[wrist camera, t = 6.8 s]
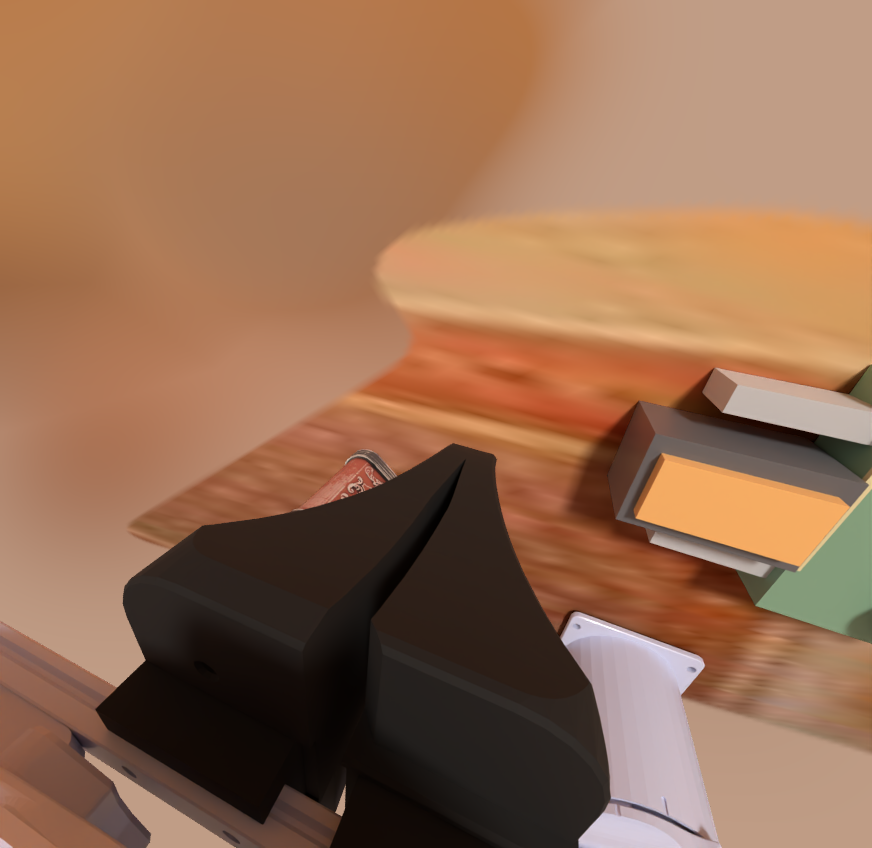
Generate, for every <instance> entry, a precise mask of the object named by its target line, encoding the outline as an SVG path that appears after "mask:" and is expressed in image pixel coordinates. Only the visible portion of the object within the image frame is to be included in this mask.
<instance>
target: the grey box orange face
mask: <svg viewBox="0 0 872 848" xmlns="http://www.w3.org/2000/svg"><path fill="white" fill-rule="evenodd" d="M607 476H608V482H609V487H610V492H611V498H612V503H613V509H614V514H615V519H617V520H620V521H623V522H627V523H630V524H634V525H637V526H640V527H644V528H647V529H650V530H654V531H657V532H660V533H664V534H667V535H670V536H674V537H677V538H680V539H684V540H687V541H690V542H694V543H697V544H700V545H704V546H707V547H711V548H714V549H717V550H721V551H724V552H727V553H731V554H734V555H737V556H741V557H744V558H747V559H751V560H754V561H757V562H761V563H764V564H767V565H771V566H774V567H777V568H781V569H784V570H787V571H791V572H794V573H795V572H796V571H797V570H798V568H799V567H800V566H801V565H802V564H803V563H804V561H805V560H806V559H807V558H808V557H809V556H810V554H811V553H812V552H813V551H814V550H815V548H816V547H817V546H818V545H819V544H820V543H821V541H822V540H823V539H824V538H825V537H826V536H827V534H828V533H829V532H830V531H831V530H832V528H833V527H834V526H835V525H836V524H837V523H838V521H839V520H840V519H841V518H842V517H843V516H844V514H845V513H846V512H847V511H848V510H849V508H850V507H851V506H852V505H853V504H854V503H855V501H856V500H857V499H858V498H859V497H860V496H861V494H862V493H863V492H864V491H865V490H866V489H867V487H868V486H869V484H868V483H866V482H865V481H864V480H862V479H861V478H860V477H858V476H857V475H855V474H854V473H853V472H851V471H850V470H849V469H847V468H846V467H845V466H843V465H842V464H841V463H839V462H838V461H837V460H835V459H834V458H833V457H831V456H830V455H829V454H827V453H826V452H825V451H823V450H822V449H821V448H819V447H818V446H817V445H815V444H814V443H813V442H811V441H810V440H808V439H807V438H804V437H800V436H795V435H791V434H786V433H782V432H777V431H773V430H768V429H764V428H759V427H755V426H751V425H746V424H742V423H737V422H733V421H728V420H724V419H719V418H715V417H710V416H706V415H701V414H697V413H692V412H688V411H683V410H679V409H674V408H670V407H665V406H661V405H656V404H652V403H647V402H643V401H639V402H638V404H637V406H636V409H635V411H634V413H633V416H632V418H631V420H630V423H629V425H628V428H627V430H626V432H625V435H624V437H623V439H622V442H621V444H620V446H619V449H618V451H617V453H616V456H615V458H614V460H613V463H612V465H611V467H610V470H609V472H608V475H607Z"/></svg>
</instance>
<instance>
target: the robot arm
mask: <svg viewBox="0 0 872 848" xmlns="http://www.w3.org/2000/svg"><path fill="white" fill-rule="evenodd" d="M496 460H497V459H496V457H495V456H494V455H493V454H489V453H486V452H482V451H479V450H475V449H472V448H468V447H465V446H461V445H457V444H454V443H453V444H451V445H449V446H447V447H446V448H444V449H443V450H441V451H440V452H438V453H437V454H435V455H433V456H432V457H430V458H429V459H427V460H425V461H424V462H422V463H420V464H419V465H417V466H415V467H413V468H412V469H410V470H408V471H406V472H405V473H403V474H401V475H399V476H397V477H395V478H393V479H391V480H389V481H387V482H385V483H383V484H380V485H378V486H376V487H373V488H371V489H368V490H366V491H363V492H360V493H358V494H355V495H352V496H349V497H346V498H343V499H339V500H336V501H333V502H329V503H326V504H323V505H319V506H316V507H312V508H308V509H304V510H299V511H295V512H290V513H285V514H280V515H275V516H270V517H264V518H259V519H252V520H244V521H237V522H229V523H222V524H215V525H205V526H202V527H200V528H199V529H197V530H196V531H195V532H193V533H192V534H190V535H189V536H188V537H186V538H185V539H184V540H182V541H181V542H180V543H178V544H177V545H176V546H174V547H173V548H171V549H170V550H169V551H167V552H166V553H165V554H163V555H162V556H161V557H159V558H158V559H157V560H155V561H154V562H153V563H151V564H150V565H149V566H147V567H146V568H144V569H143V570H142V571H140V572H139V573H138V574H136V575H135V576H134V577H132V578H131V579H130V580H129V581H128V583H127V584H126V585H125V588H124V593H123V606H124V609H125V612H126V616H127V618H128V620H129V623H130V625H131V627H132V629H133V632H134V634H135V637H136V639H137V641H138V644H139V646H140V648H141V650H142V653H143V655H144V657H145V659H146V661H145V662H144V663H143V664H142V665H140V666H139V667H138V668H137V669H136V670H135V671H134V672H133V673H132V674H131V675H130V676H129V677H128V678H127V679H126V680H125V681H124V682H123V683H122V684H121V685H120V686H119V687H118V688H117V687H115V686H113V685H111V684H110V683H108V682H106V681H104V680H103V679H101V678H99V677H97V676H96V675H94V674H92V673H90V672H89V671H87V670H85V669H83V668H82V667H80V666H78V665H76V664H75V663H73V662H71V661H69V660H68V659H66V658H64V657H62V656H61V655H59V654H57V653H55V652H54V651H52V650H50V649H48V648H47V647H45V646H43V645H41V644H40V643H38V642H36V641H35V640H33V639H31V638H29V637H27V636H26V635H24V634H22V633H21V632H19V631H17V630H15V629H14V628H12V627H10V626H8V625H6V624H5V623H3V622H1V621H0V848H146V847H147V845H148V844H149V843H150V836H151V834H150V832H149V831H148V830H147V829H146V828H145V827H144V826H143V825H142V824H141V822H140V821H139V820H138V819H137V818H136V817H135V816H134V815H133V814H132V813H131V811H130V810H129V809H128V807H127V806H126V804H125V803H124V802H123V801H122V799H121V798H120V796H119V794H118V792H117V790H116V787H115V785H114V783H113V782H112V781H111V780H110V779H109V778H108V777H106V776H105V775H104V774H103V773H102V772H100V771H99V770H98V769H97V768H96V767H94V766H93V765H92V764H91V763H89V762H88V761H87V760H86V759H85V758H84V757H85V751H87V752H88V753H90V754H91V755H93V756H95V757H96V758H98V759H100V760H101V761H102V762H104V763H105V764H107V765H109V766H110V767H112V768H113V769H115V770H116V771H118V772H119V773H121V774H122V775H124V776H126V777H127V778H129V779H130V780H132V781H133V782H135V783H137V784H138V785H140V786H141V787H143V788H144V789H146V790H147V791H149V792H150V793H152V794H153V795H155V796H157V797H158V798H160V799H162V800H163V801H164V802H166V803H167V804H169V805H171V806H172V807H174V808H175V809H177V810H178V811H180V812H182V813H183V814H185V815H186V816H188V817H189V818H191V819H192V820H194V821H195V822H197V823H198V824H200V825H202V826H203V827H205V828H206V829H208V830H209V831H211V832H212V833H214V834H216V835H217V836H219V837H220V838H222V839H223V840H225V841H226V842H228V843H230V844H231V845H233V846H234V847H236V848H722V847H721V845H720V844H719V840H718V836H717V832H716V829H715V825H714V821H713V817H712V813H711V809H710V805H709V802H708V798H707V794H706V790H705V787H704V782H703V779H702V775H701V771H700V767H699V763H698V760H697V756H696V752H695V748H694V744H693V740H692V737H691V733H690V729H689V725H688V721H687V717H686V714H685V710H684V706H683V702H682V698H681V694H682V693H683V692H684V691H685V690H686V688H687V687H688V686H689V685H690V684H691V683H692V681H693V680H694V679H695V678H696V677H697V675H698V674H699V673H700V672H701V671H702V670H703V668H704V666H705V665H704V662H703V659H702V658H701V657H700V656H698V655H695V654H693V653H690V652H687V651H684V650H682V649H679V648H676V647H674V646H671V645H668V644H665V643H663V642H660V641H657V640H654V639H652V638H649V637H646V636H644V635H641V634H638V633H635V632H633V631H630V630H627V629H624V628H622V627H619V626H616V625H614V624H611V623H608V622H605V621H603V620H600V619H597V618H594V617H592V616H589V615H586V614H583V613H581V612H574V613H572V614H571V616H570V618H569V620H568V622H567V624H566V626H565V628H564V630H563V632H562V634H561V636H560V637H559V636H558V634H557V632H556V631H555V629H554V627H553V626H552V624H551V622H550V621H549V619H548V617H547V616H546V614H545V612H544V611H543V609H542V607H541V605H540V603H539V601H538V599H537V597H536V595H535V594H534V592H533V590H532V588H531V586H530V584H529V582H528V580H527V578H526V576H525V574H524V572H523V570H522V568H521V565H520V563H519V561H518V558H517V556H516V554H515V551H514V549H513V546H512V543H511V541H510V538H509V535H508V532H507V529H506V526H505V523H504V519H503V515H502V512H501V507H500V503H499V498H498V492H497V486H496V477H495V465H496ZM345 785H346V795H345V811H344V813H343V816H340V815H338V814H336V813H335V812H336V809H337V807H338V804H339V801H340V798H341V796H342V793H343V790H344V787H345Z"/></svg>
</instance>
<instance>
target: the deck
mask: <svg viewBox="0 0 872 848" xmlns="http://www.w3.org/2000/svg"><path fill="white" fill-rule="evenodd" d="M702 393H703V394H704V395H705V396H706V397H707V398H708V399H709V400H710V401H711V402H712V403H713V404H714V405H715V406H716V407H717V408H718V409H719V410H720V411H721V412H722V413H727V414H731V415H736V416H740V417H745V418H749V419H754V420H758V421H763V422H767V423H772V424H776V425H781V426H785V427H789V428H794V429H798V430H803V431H807V432H812V433H816V434H820V435H819V437H818V438H817V440H816V441H815V442H814V444H815V445H817V446H818V447H819V448H821V449H822V450H823V451H825V452H826V453H827V454H829V455H830V456H831V457H833V458H834V459H835V460H837V461H838V462H839V463H841V464H842V465H843V466H845V467H846V468H847V469H849V470H850V471H851V472H853V473H854V474H855V475H857V476H858V477H860V478H861V479H862V480H864V481H865V482H866V483H868V484H869V486H868V487H867V489H866V490H865V491H864V492H863V493H862V494H861V496H860V497H859V498H858V499H857V500H856V501H855V503H854V504H853V505H852V506H851V507H850V508H849V510H848V511H847V512H846V513H845V514H844V516H843V517H842V518H841V519H840V520H839V521H838V523H837V524H836V525H835V526H834V527H833V528H832V530H831V531H830V532H829V533H828V534H827V536H826V537H825V538H824V539H823V540H822V541H821V543H820V544H819V545H818V546H817V547H816V548H815V550H814V551H813V552H812V553H811V554H810V556H809V557H808V558H807V559H806V560H805V561H804V563H803V564H802V565H801V566H800V567H799V568H798V570H797V571H796V572H795V573H794V572H791V571H787V570H784V569H781V568H777V567H774V566H771V565H767V564H764V563H761V562H757V561H754V560H751V559H747V558H744V557H741V556H737V555H734V554H731V553H727V552H724V551H721V550H717V549H714V548H711V547H707V546H704V545H700V544H697V543H694V542H690V541H687V540H684V539H680V538H677V537H674V536H670V535H667V534H664V533H660V532H657V531H654V530H650V529H647V528H645V529H646V532H647V535H648V539H649V542H650V543H653V544H656V545H659V546H662V547H666V548H669V549H672V550H675V551H679V552H682V553H685V554H688V555H691V556H695V557H698V558H701V559H704V560H708V561H711V562H714V563H717V564H721V565H724V566H727V567H730V568H733V569H736V571H737V573H738V575H739V576H740V578H741V580H742V582H743V584H744V586H745V588H746V589H747V591H748V593H749V595H750V597H751V599H752V600H753V602H754V604H755V606H758V607H761V608H764V609H767V610H770V611H773V612H776V613H779V614H782V615H785V616H789V617H792V618H795V619H798V620H801V621H804V622H807V623H810V624H813V625H816V626H819V627H822V628H825V629H828V630H831V631H834V632H837V633H841V634H844V635H847V636H850V637H853V638H856V639H859V640H862V641H865V642H868V643H871V644H872V365H870V366H869V368H868V369H867V370H866V372H865V373H864V375H863V376H862V377H861V379H860V380H859V382H858V383H857V384H856V386H855V387H854V388H853V390H852V391H851V393H850V394H845V393H840V392H835V391H830V390H825V389H820V388H815V387H809V386H804V385H799V384H794V383H789V382H784V381H779V380H774V379H769V378H764V377H759V376H754V375H749V374H744V373H739V372H734V371H729V370H724V369H719V368H714V370H713V372H712V374H711V376H710V378H709V380H708V382H707V384H706V386H705V388H704V389H703V391H702Z"/></svg>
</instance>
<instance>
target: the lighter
mask: <svg viewBox="0 0 872 848" xmlns="http://www.w3.org/2000/svg"><path fill="white" fill-rule="evenodd" d="M395 477H397V476H396V474H395V473H394V472H393V471H392V470H391V468H390V467H389V466H388V465H387V464H386V463H385V462H384V461H383V460H382V458H381V457H380V456H379V455H378V454H376V453H375V452H373V451H371V450H367V449H362V450H358V451H357V452H355V453H354V454H353V455H352V456H351V457H350V458H349V459H348V460H347V461H346V463H345V466H344V467H343V468H342V469H341V470H340V471H338V472H337V473H336V474H335V475H334V476H333V477H332V478H331V479H330V480H329V481H328V482H327V483H326V484H325V485H323V486H322V487H321V488H320V489H319V490H318V491H317V492H316V493H315V494H314V495H313V496H312V497H311V498H310V499H308V500H307V501H306V502H305V503H304V504H303V505H302V506H301V507H300V508H299V509H295V510H293V511H291V512H295V511H299V510H304V509H308V508H312V507H316V506H319V505H323V504H326V503H329V502H333V501H336V500H339V499H343V498H346V497H349V496H352V495H355V494H358V493H360V492H363V491H366V490H368V489H371V488H373V487H376V486H378V485H380V484H383V483H385V482H387V481H389V480H391V479H393V478H395Z"/></svg>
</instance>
